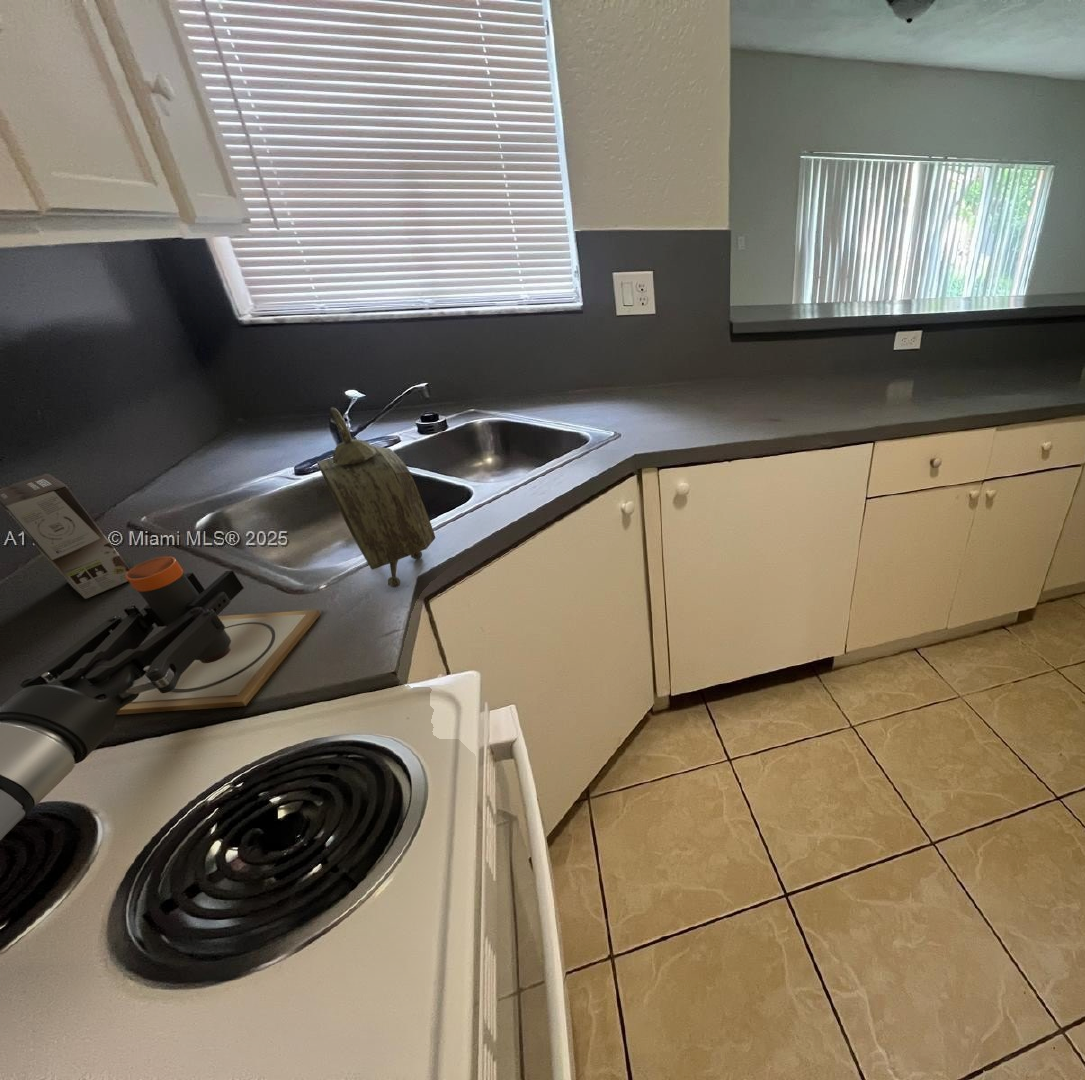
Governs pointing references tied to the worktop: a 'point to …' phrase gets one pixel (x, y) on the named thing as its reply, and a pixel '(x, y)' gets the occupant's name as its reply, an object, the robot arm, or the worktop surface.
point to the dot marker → (172, 598)
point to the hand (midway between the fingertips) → (215, 581)
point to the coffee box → (64, 534)
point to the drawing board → (232, 664)
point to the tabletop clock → (377, 501)
